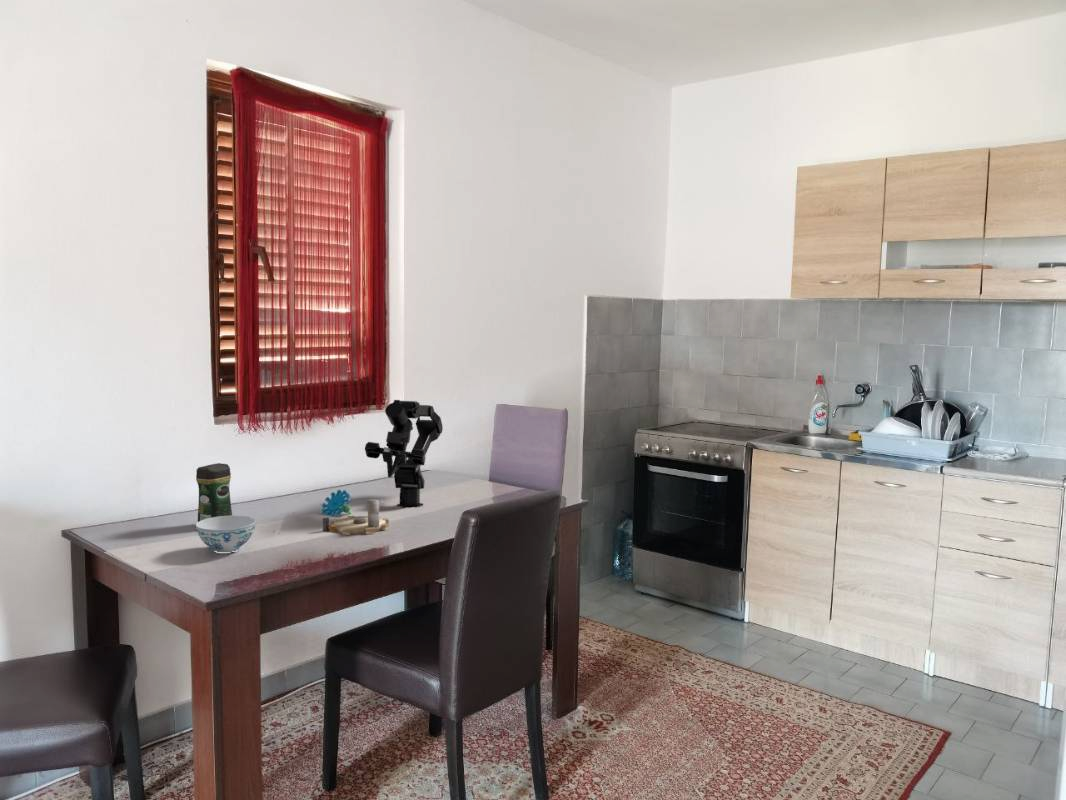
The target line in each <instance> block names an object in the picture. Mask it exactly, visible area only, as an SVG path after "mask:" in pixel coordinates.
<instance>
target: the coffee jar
mask: <svg viewBox="0 0 1066 800" xmlns="http://www.w3.org/2000/svg"><path fill="white" fill-rule="evenodd" d="M231 474H232V473H231V468H230V466H229V464H227V463H222V462H221V463H220V462H219V463H218V462H217V463H212V464H208V465H207V464H206V465H202V466H199V467H198V468H197V469H196V475H195V477H196V478H195V479H196V483H197V487H198V505H197V507H198V508H197V510H198V512H197V522H199V521H201V520H204V519H208V518H213V517H220V516H233V512H232V511H233V510H232V502H231V493H230V482H231V477H232V475H231Z"/></svg>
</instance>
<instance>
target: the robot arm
mask: <svg viewBox="0 0 1066 800" xmlns="http://www.w3.org/2000/svg"><path fill="white" fill-rule="evenodd" d="M384 413H385V415H386V417H387V419H388V420H389V424H391V425H392V426H393V428H392V431H387V435H386V439H385V441H386V444H385V445H386V447H380V446H381V445H380V442H373V441H367V442H366V444H365V447H364V451H365V455H366V457H367V458H371V459H378V458H380V456H381V455H382V461H383V462H385V463H386V467H387V471H386V472H387V478H392V477H393V478H394V479H393V480H394V486H395V488H396V489H399V503H397V504H396V506H397V507H400V506H402V507H401V508H406V507H407V508H406V509H408V508H409V509H410V508H412V507H414V508H417V507H416V506H418V507H421V506H424V503H422V502H420V499H421V498H420V497H421V496H420V495H421V490H423V489H424V488H425V484H426V483H425V482H426V481H425V477H424V476H423V474H422V468H421V466H425V463H426V456H427V453H428V451H429V448H430V445H431V444H432V442H435V441H437V440H438V439H439V438H440V436H441V434H442V433H443V422H442V419H441V416H440V415H438V413H437V412H436V411H435V409H434V406H433V405H427V404H420V402H418V401H417V400H400V399H393V402H391V403H389V404H387V406H386V407H385V409H384ZM421 417H428V418H430V419H421ZM411 419H413V420H415V419H416V421H415V427H416V429H417V434H418V437H417V439H416V441H415V443H414V444H413V447H412V450H411V451H407V448H408V447H407V446H408V445H409V443H410V441H411V433H412V431H413V430H414V426H413V421H412V420H411ZM393 457H394V459H393ZM393 460H394V461H393ZM420 505H421V506H420Z"/></svg>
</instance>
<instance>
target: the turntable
mask: <svg viewBox="0 0 1066 800" xmlns="http://www.w3.org/2000/svg"><path fill="white" fill-rule="evenodd" d="M389 524H390V521H389V519H388V518H381V517H380V500H379V499H376V498H375V499H374V498H372V499H368V500H367V515H365V516H364V515H359V516H357V515H356V516H355V515H347V517H343V518H340V519H339V518H338V519H332V520H331V524H329V531H330V532H338V533H340V534H342V535H343V536H344V535H346V536H350V535H362V534H363V535H364V534H365V535H372V534H374V533H377V532H380V531H387V530H389Z"/></svg>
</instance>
